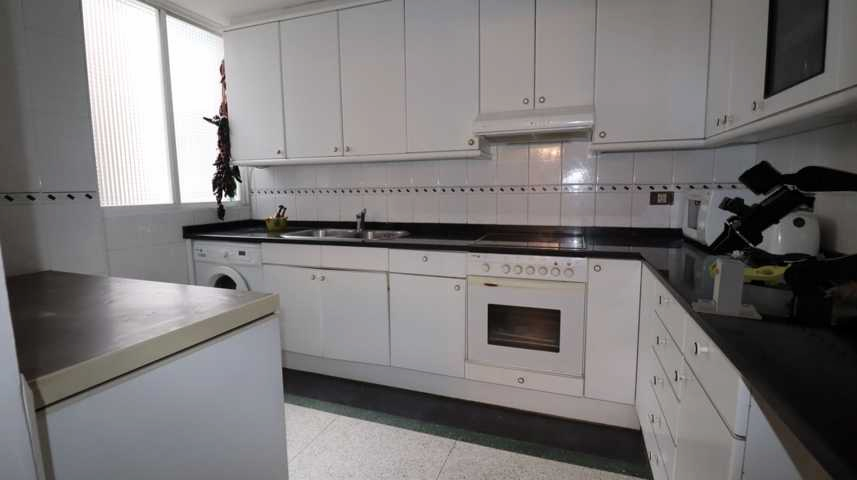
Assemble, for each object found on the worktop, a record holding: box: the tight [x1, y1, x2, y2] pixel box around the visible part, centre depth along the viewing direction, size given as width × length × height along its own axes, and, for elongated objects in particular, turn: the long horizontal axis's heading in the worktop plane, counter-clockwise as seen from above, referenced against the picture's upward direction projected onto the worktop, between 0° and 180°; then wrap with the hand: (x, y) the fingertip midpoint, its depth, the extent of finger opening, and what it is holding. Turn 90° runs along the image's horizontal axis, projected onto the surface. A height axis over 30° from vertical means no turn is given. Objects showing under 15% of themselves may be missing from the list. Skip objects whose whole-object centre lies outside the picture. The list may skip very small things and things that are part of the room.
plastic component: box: [708, 257, 792, 287], centre depth 129 cm, size 20×7×10 cm
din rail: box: [691, 298, 763, 320], centre depth 99 cm, size 13×7×2 cm, turn 62°
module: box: [712, 258, 746, 315], centre depth 98 cm, size 5×7×12 cm
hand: (711, 251), depth 102 cm, fingers open, 9 cm apart
